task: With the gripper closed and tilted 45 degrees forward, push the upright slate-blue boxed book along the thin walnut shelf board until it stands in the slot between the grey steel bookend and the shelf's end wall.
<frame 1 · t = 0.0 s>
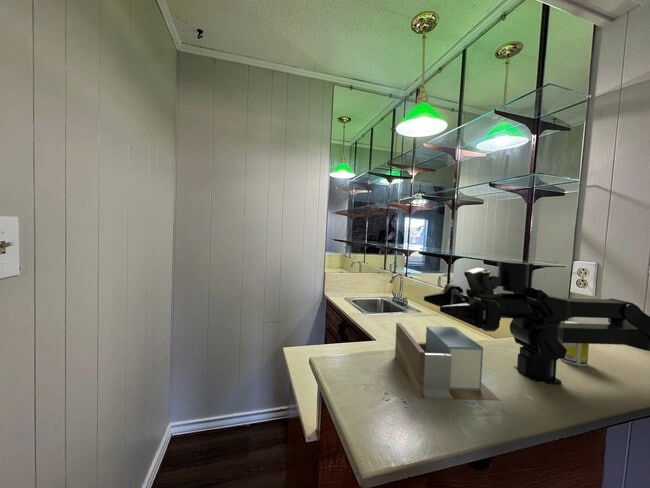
hand: (431, 303, 61), 17 cm above the worktop, tool horizontal, fingers open, 9 cm apart
shelf: (440, 378, 60), on the worktop
bookend: (436, 395, 52), resting on shelf
supplement bottle: (572, 362, 70), on the worktop
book: (450, 374, 60), point 1 cm above the worktop, touching shelf
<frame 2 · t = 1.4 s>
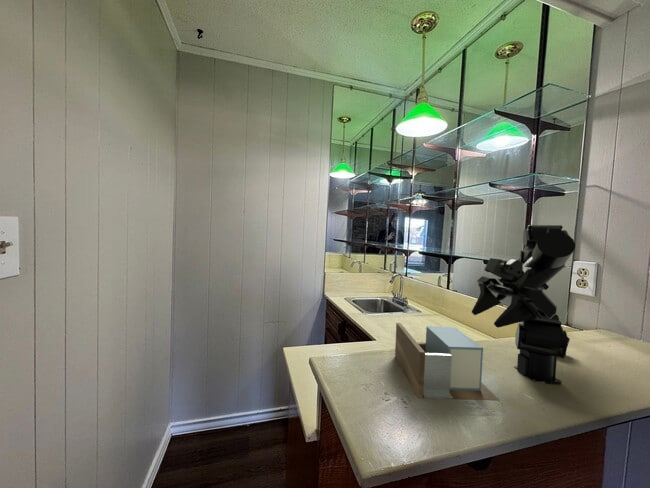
hand: (483, 319, 60), 14 cm above the worktop, tool tilted 45°, fingers open, 8 cm apart
supplement bottle: (564, 346, 72), point 3 cm above the worktop
everything else where it was.
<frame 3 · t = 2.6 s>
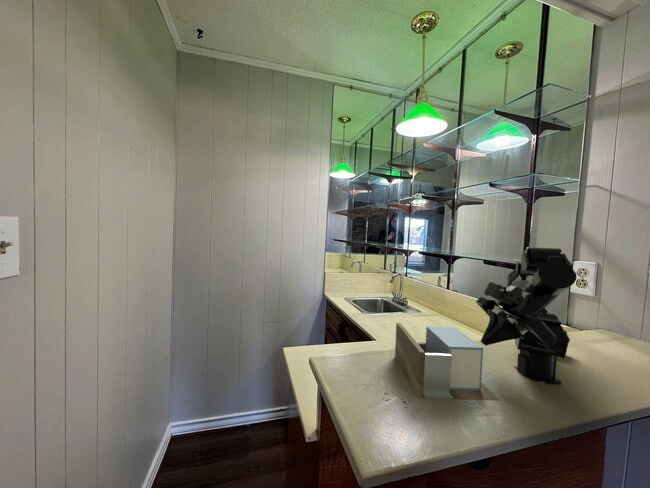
hand: (482, 343, 60), 8 cm above the worktop, tool tilted 45°, fingers closed
nothing on the worktop moved.
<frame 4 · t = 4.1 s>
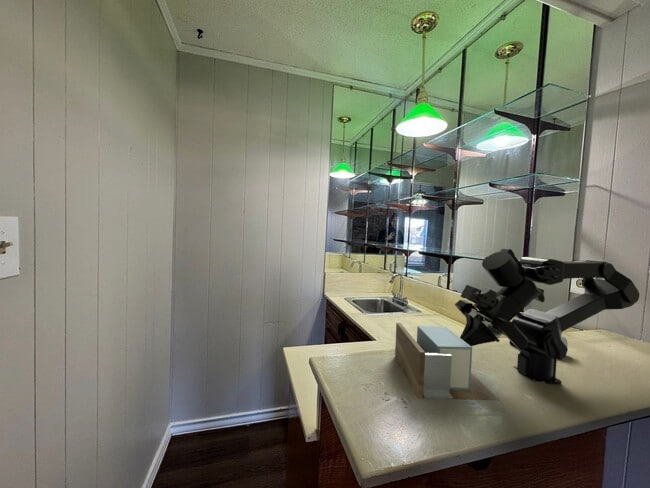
hand: (458, 346, 60), 7 cm above the worktop, tool tilted 45°, fingers closed
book: (440, 374, 60), point 1 cm above the worktop
everything else where it was.
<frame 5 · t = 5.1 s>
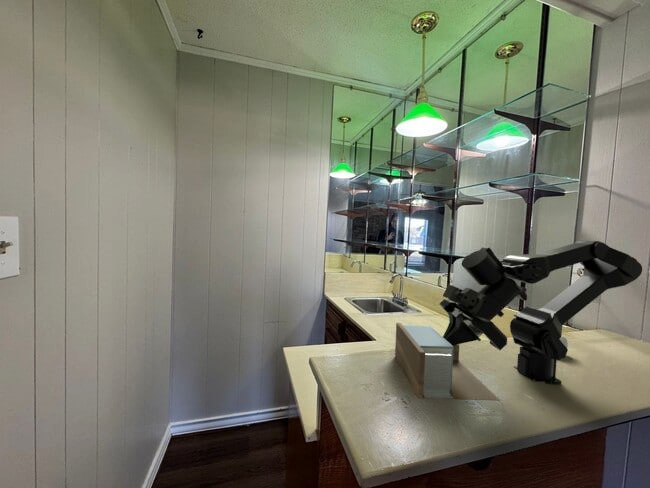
hand: (441, 346, 60), 7 cm above the worktop, tool tilted 45°, fingers closed, pressing on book
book: (423, 373, 60), point 1 cm above the worktop, touching gripper, shelf
everything else where it was.
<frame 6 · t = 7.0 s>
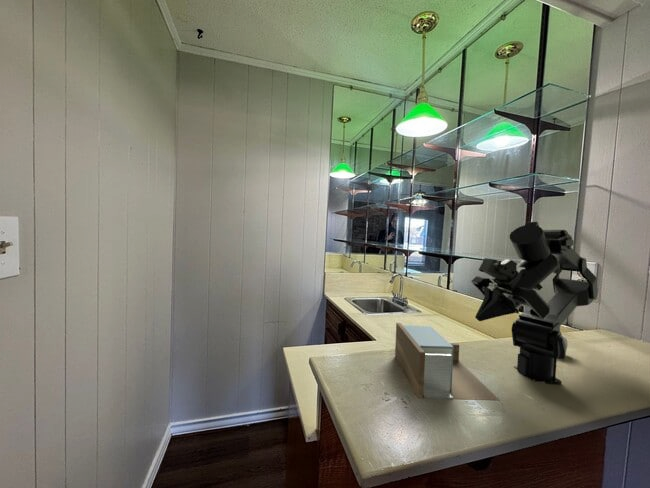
hand: (477, 319, 60), 14 cm above the worktop, tool tilted 45°, fingers closed
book: (423, 373, 60), point 1 cm above the worktop, touching shelf
everything else where it was.
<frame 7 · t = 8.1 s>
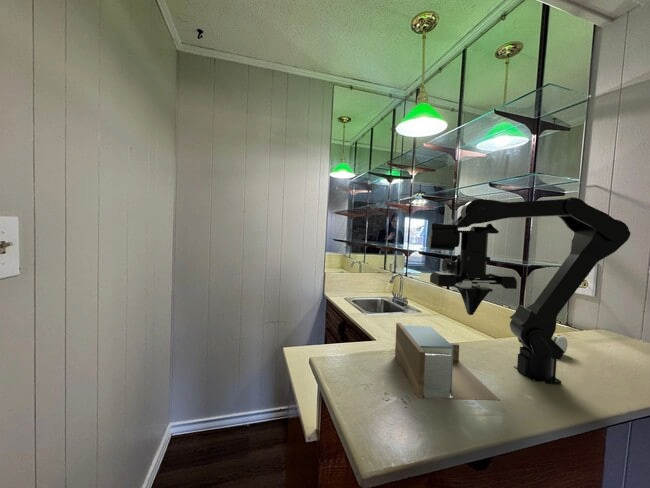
hand: (470, 314, 65), 13 cm above the worktop, tool pointing down, fingers closed
nothing on the worktop moved.
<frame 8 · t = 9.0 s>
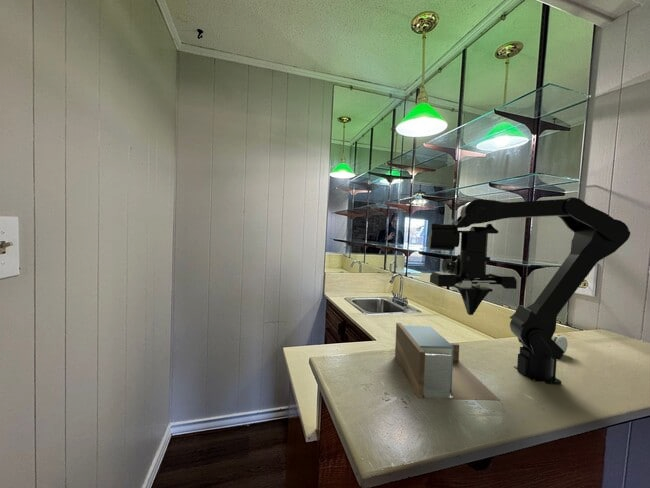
hand: (470, 314, 65), 13 cm above the worktop, tool pointing down, fingers closed
nothing on the worktop moved.
at the end: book 0.1 cm from the target spot, point 0.6 cm above the worktop; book tilted 0° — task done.
